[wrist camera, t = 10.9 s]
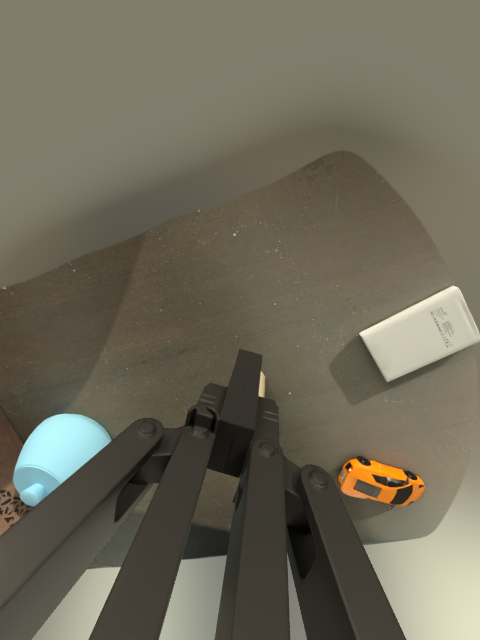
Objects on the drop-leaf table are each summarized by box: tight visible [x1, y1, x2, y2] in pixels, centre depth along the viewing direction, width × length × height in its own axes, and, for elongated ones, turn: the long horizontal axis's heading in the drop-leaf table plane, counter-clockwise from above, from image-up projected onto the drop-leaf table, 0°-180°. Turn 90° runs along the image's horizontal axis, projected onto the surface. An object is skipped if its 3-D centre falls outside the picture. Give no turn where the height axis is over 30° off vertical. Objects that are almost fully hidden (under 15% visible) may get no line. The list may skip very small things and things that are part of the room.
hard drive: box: [359, 286, 480, 382], centre depth 34 cm, size 2×8×12 cm
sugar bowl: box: [13, 414, 112, 506], centre depth 44 cm, size 15×15×12 cm
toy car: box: [338, 456, 425, 510], centre depth 42 cm, size 12×12×3 cm
